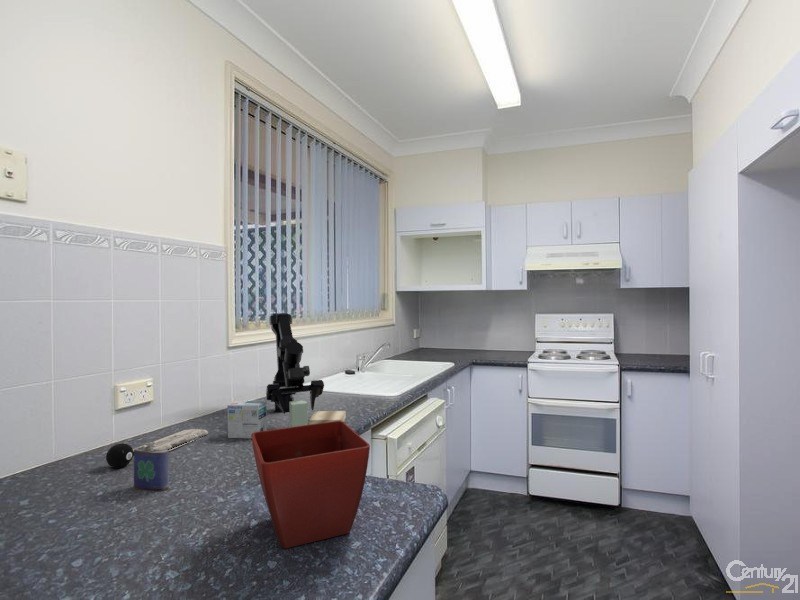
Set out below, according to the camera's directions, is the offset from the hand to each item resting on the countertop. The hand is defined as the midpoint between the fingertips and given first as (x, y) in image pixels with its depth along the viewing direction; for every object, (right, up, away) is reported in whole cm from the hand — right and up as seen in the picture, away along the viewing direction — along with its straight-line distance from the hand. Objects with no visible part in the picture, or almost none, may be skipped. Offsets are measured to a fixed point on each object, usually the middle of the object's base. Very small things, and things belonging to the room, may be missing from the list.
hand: (298, 411), depth 145 cm
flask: (-25, -8, -41) cm, 49 cm away
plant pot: (+16, -7, -60) cm, 63 cm away
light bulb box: (-16, -8, -1) cm, 18 cm away
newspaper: (-37, -9, -8) cm, 39 cm away
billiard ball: (-41, -8, -27) cm, 50 cm away
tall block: (0, -7, +1) cm, 7 cm away
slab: (+8, -7, +11) cm, 15 cm away
